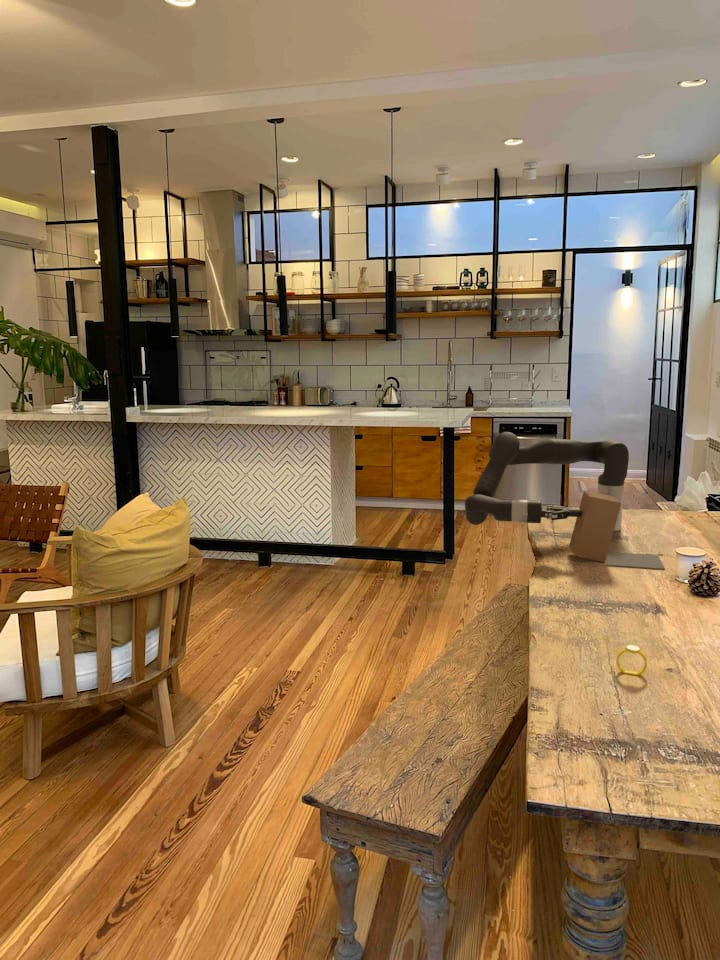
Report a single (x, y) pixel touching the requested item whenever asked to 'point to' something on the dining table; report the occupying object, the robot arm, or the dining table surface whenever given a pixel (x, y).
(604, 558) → the wooden block
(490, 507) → the robot arm
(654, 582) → the dining table surface
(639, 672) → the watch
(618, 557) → the charcoal mat
